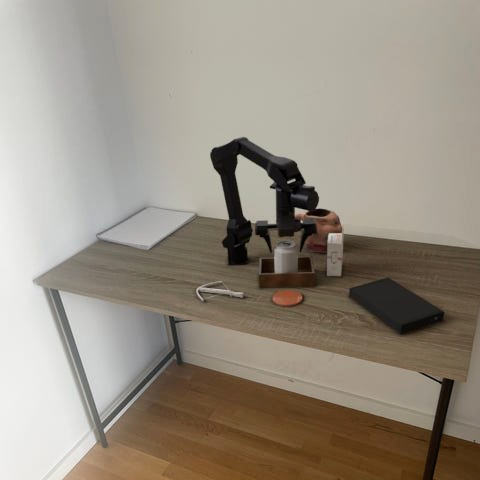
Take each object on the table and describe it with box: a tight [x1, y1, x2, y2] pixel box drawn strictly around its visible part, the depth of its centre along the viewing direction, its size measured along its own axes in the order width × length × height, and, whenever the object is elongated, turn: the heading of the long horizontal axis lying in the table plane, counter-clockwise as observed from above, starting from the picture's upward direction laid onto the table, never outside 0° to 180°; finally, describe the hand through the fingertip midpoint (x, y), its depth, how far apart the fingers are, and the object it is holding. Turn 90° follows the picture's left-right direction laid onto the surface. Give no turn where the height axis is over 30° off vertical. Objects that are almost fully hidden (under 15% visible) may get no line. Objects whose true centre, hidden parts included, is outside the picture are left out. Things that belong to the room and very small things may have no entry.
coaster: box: [272, 289, 303, 307], centre depth 141 cm, size 9×9×1 cm
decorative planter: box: [295, 207, 345, 254], centre depth 168 cm, size 20×12×14 cm, turn 60°
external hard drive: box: [348, 277, 445, 335], centre depth 132 cm, size 14×23×3 cm, turn 24°
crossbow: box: [195, 280, 245, 302], centre depth 146 cm, size 16×13×2 cm
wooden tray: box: [258, 255, 316, 289], centre depth 151 cm, size 17×12×5 cm
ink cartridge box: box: [326, 226, 345, 277], centre depth 151 cm, size 9×5×15 cm, turn 168°
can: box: [273, 239, 299, 273], centre depth 149 cm, size 8×8×12 cm
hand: (285, 252), depth 148 cm, fingers open, 9 cm apart
